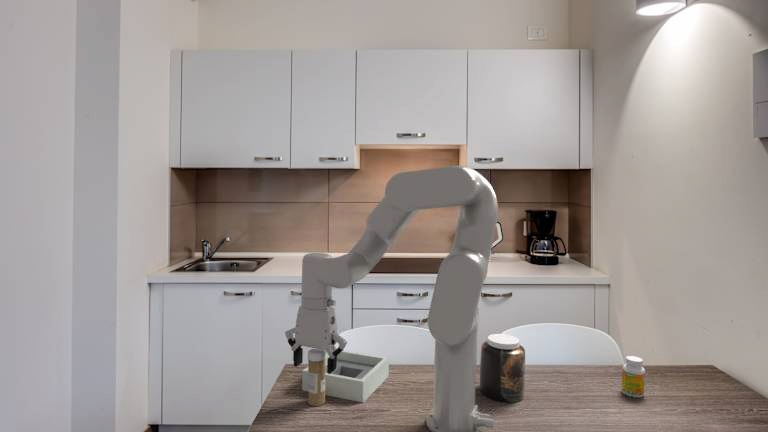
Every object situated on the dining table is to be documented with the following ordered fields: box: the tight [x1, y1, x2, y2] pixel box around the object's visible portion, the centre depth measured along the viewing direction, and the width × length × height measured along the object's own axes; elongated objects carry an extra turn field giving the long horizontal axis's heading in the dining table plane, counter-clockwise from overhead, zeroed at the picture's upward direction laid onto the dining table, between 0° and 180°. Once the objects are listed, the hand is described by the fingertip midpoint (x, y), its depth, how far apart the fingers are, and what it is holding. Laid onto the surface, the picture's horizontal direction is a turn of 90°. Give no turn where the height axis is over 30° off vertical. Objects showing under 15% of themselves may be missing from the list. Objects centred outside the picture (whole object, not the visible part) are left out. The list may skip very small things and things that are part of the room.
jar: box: [479, 333, 526, 404], centre depth 127 cm, size 12×12×15 cm
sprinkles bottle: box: [307, 348, 327, 407], centre depth 120 cm, size 5×5×13 cm
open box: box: [301, 350, 390, 403], centre depth 132 cm, size 18×18×6 cm
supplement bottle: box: [621, 355, 646, 398], centre depth 128 cm, size 5×5×10 cm
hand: (314, 368), depth 120 cm, fingers open, 9 cm apart
